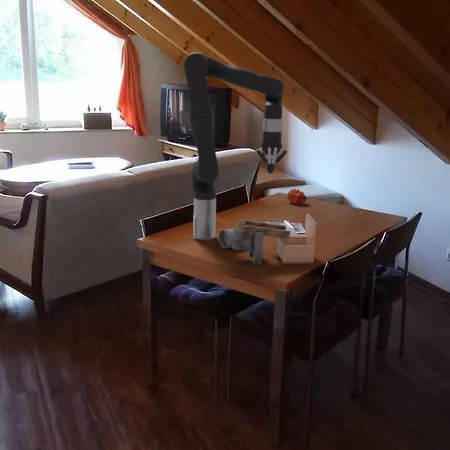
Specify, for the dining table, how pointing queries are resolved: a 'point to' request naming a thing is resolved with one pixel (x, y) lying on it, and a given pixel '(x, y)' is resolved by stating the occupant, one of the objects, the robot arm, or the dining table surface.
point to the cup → (298, 245)
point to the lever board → (247, 228)
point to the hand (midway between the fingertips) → (270, 172)
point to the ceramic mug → (225, 238)
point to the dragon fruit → (296, 196)
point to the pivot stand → (256, 247)
